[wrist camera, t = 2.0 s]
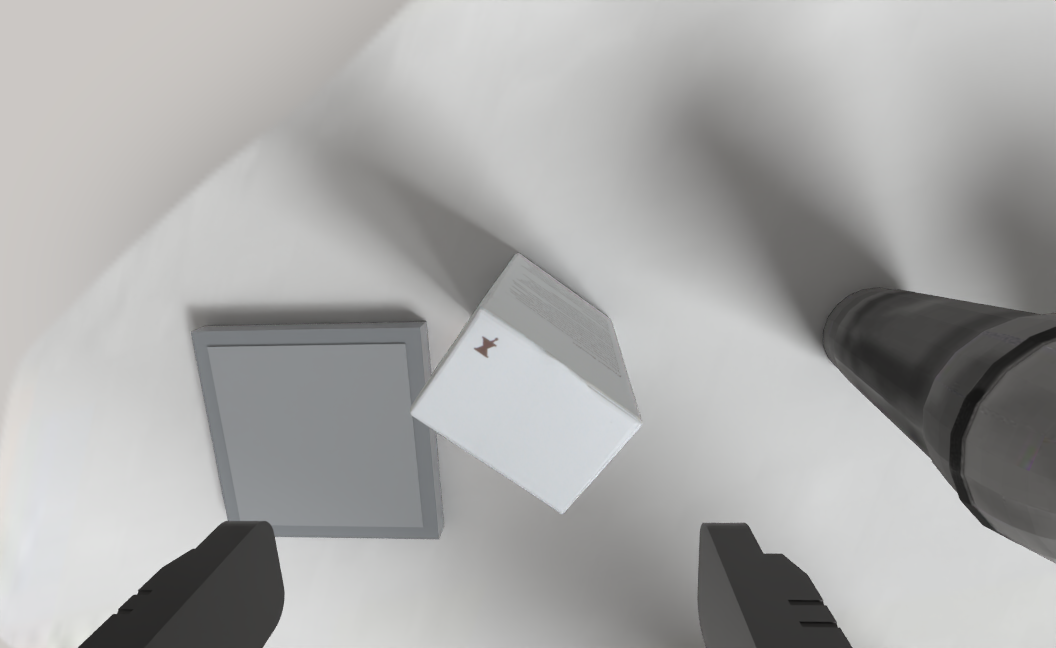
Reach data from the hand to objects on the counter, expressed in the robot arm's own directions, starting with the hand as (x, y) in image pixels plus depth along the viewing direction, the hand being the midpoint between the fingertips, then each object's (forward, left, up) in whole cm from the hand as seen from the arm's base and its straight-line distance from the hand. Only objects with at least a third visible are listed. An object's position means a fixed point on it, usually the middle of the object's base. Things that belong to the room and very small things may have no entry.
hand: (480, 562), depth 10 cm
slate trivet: (+12, +6, -18) cm, 22 cm away
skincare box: (0, 0, -19) cm, 19 cm away
